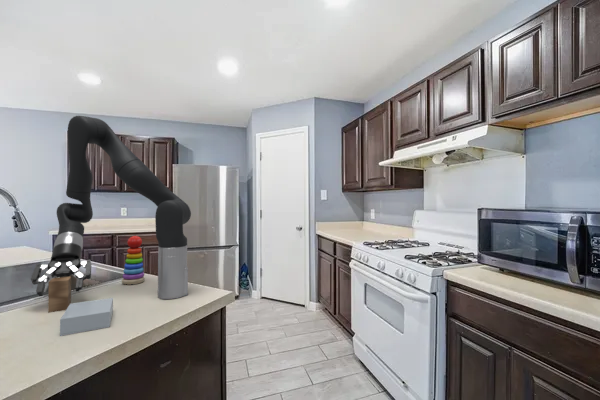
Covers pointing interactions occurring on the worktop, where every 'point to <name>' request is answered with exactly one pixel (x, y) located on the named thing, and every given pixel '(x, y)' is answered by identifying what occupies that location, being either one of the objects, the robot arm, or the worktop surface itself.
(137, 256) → the stacking toy
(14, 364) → the worktop surface
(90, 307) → the slate slab
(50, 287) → the walnut block
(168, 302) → the worktop surface
